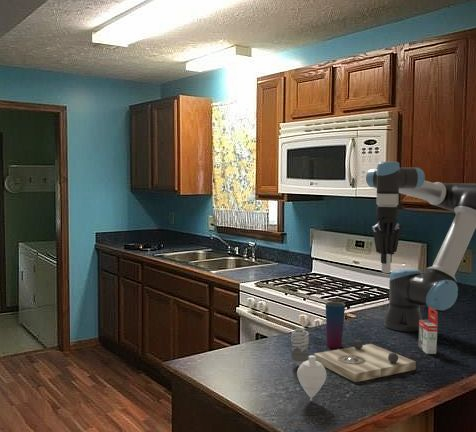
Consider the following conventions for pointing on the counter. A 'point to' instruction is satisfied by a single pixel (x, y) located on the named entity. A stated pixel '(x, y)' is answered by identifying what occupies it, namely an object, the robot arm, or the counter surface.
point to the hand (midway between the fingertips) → (386, 272)
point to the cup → (334, 323)
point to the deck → (364, 362)
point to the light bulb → (299, 352)
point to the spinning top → (311, 376)
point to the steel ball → (350, 360)
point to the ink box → (428, 332)
